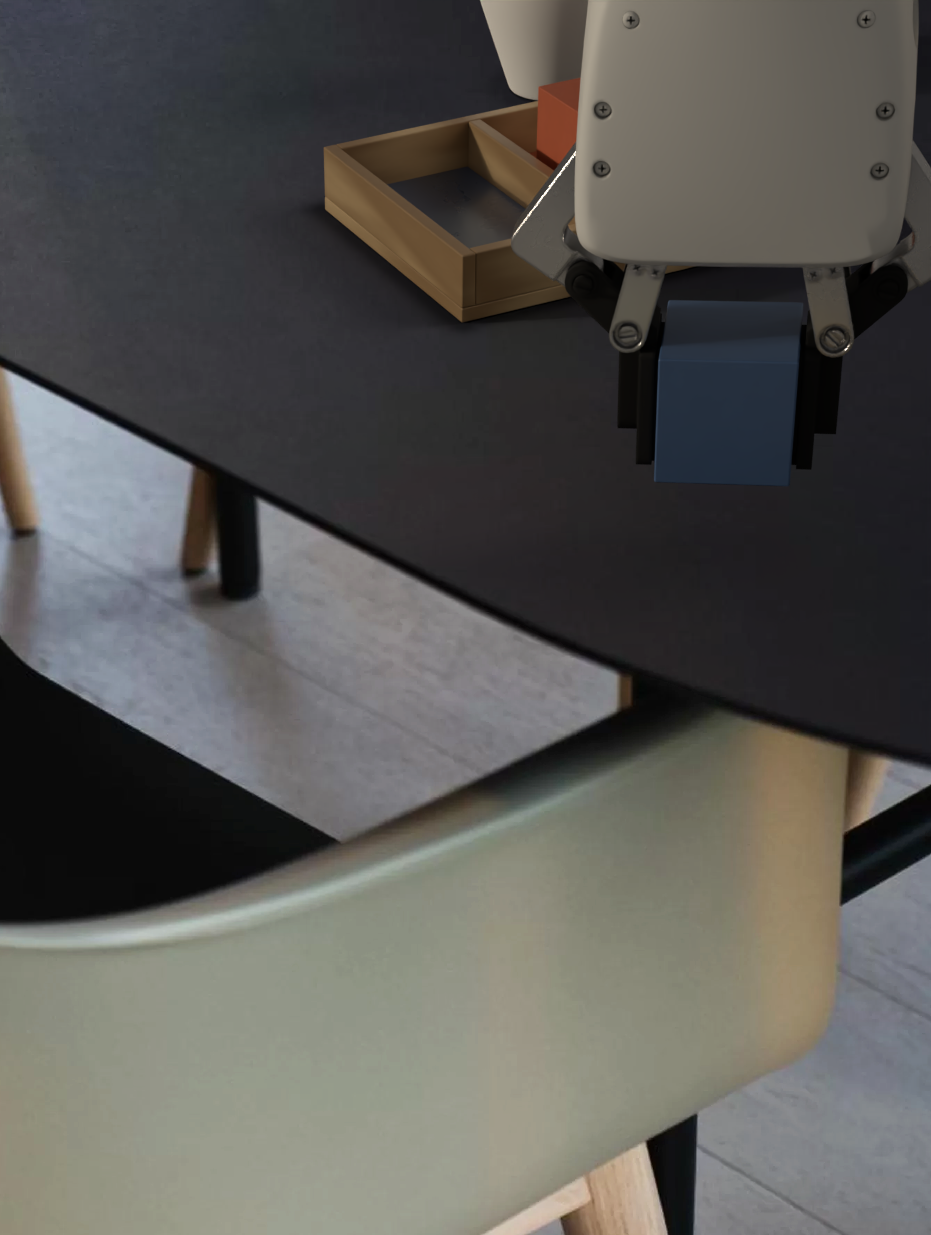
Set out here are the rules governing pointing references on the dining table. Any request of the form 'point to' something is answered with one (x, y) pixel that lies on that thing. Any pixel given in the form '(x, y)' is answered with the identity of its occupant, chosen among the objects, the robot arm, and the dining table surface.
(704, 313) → the blue block
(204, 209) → the dining table surface
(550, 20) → the mug
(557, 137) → the terracotta block
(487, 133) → the tray
